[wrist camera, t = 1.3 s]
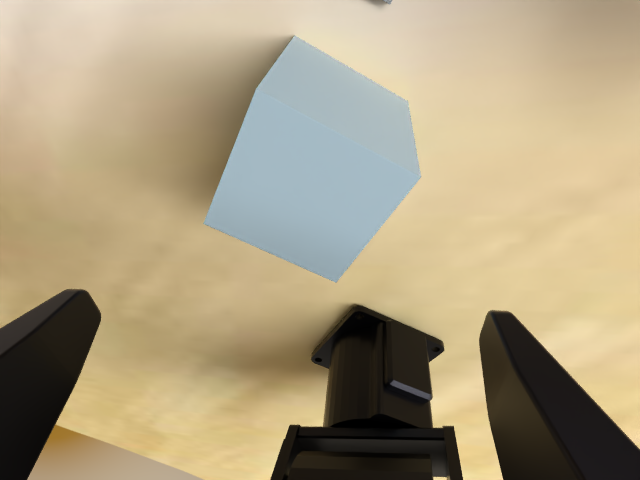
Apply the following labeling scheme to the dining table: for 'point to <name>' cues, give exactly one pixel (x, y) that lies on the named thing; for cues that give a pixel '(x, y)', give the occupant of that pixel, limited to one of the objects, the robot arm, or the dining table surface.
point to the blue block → (316, 163)
